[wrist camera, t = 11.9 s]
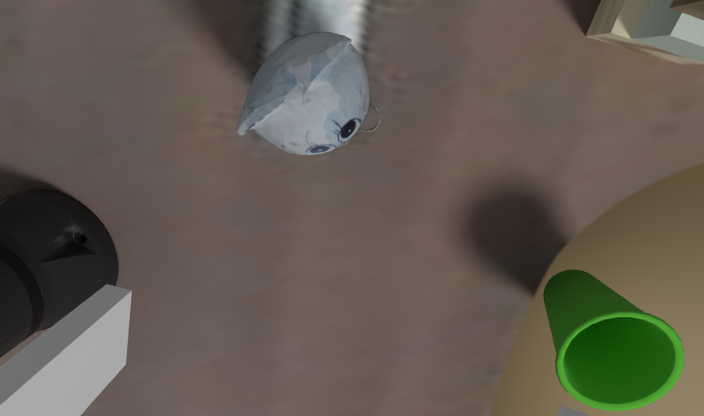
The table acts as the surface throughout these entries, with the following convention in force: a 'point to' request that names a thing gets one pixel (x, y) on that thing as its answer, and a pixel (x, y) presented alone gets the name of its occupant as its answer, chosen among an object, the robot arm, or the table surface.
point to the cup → (609, 345)
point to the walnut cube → (689, 7)
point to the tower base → (626, 28)
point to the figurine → (309, 95)
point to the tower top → (671, 31)
